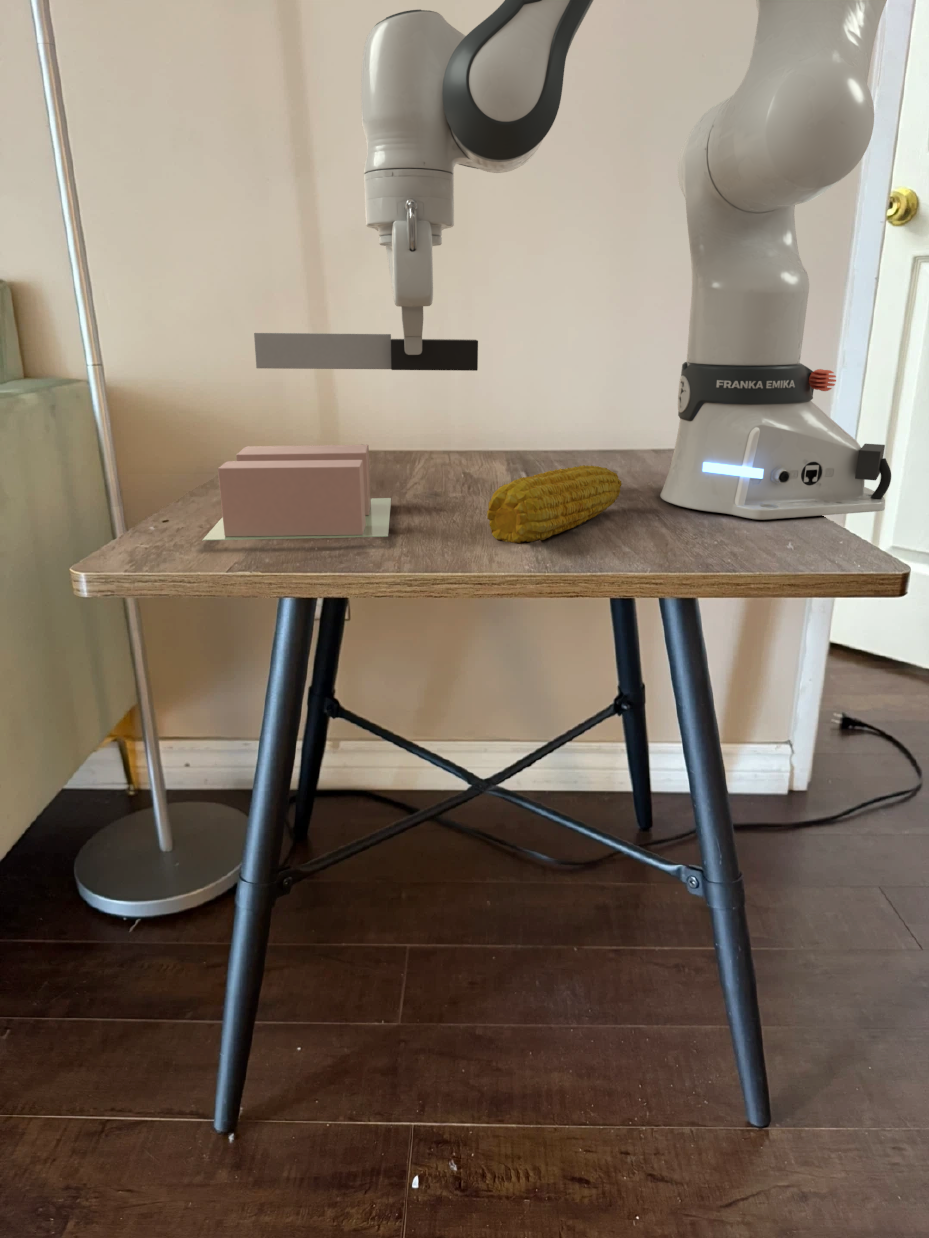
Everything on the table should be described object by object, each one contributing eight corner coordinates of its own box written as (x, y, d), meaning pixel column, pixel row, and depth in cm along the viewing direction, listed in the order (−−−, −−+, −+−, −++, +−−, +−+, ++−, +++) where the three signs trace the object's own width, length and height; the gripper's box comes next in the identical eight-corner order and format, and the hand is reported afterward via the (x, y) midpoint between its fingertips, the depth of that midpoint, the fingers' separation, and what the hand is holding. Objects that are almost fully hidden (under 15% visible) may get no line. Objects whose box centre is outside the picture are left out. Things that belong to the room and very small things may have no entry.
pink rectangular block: (371, 504, 87) (368, 444, 85) (369, 515, 82) (366, 452, 80) (250, 506, 86) (245, 446, 84) (241, 518, 81) (235, 454, 79)
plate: (391, 507, 90) (391, 497, 90) (388, 547, 75) (388, 536, 75) (237, 510, 89) (236, 500, 89) (202, 551, 74) (201, 540, 74)
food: (534, 559, 71) (536, 488, 69) (476, 550, 74) (476, 481, 72) (631, 510, 88) (634, 451, 86) (580, 504, 91) (582, 447, 89)
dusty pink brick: (365, 525, 78) (362, 459, 76) (362, 535, 75) (359, 466, 73) (233, 527, 78) (226, 461, 76) (224, 537, 75) (217, 468, 73)
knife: (475, 369, 92) (476, 334, 91) (477, 370, 90) (478, 335, 89) (258, 367, 91) (256, 332, 89) (254, 369, 88) (252, 333, 87)
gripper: (447, 195, 76) (448, 358, 81) (436, 218, 95) (438, 349, 100) (375, 195, 75) (381, 359, 80) (379, 218, 95) (384, 349, 99)
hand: (413, 353), depth 90 cm, fingers closed on knife, 2 cm apart
